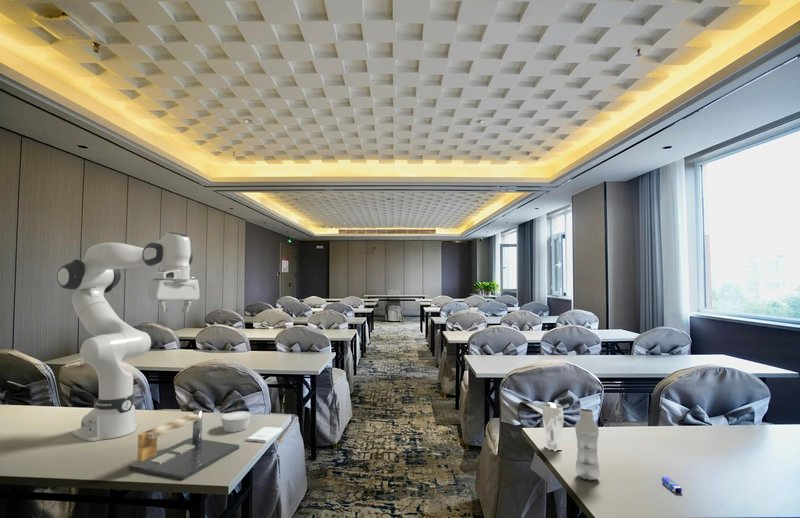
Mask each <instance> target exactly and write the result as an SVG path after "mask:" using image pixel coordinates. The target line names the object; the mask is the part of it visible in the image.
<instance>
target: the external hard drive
mask: <svg viewBox="0 0 800 518" xmlns="http://www.w3.org/2000/svg"><path fill="white" fill-rule="evenodd" d="M282 431H283V428H282V427H273V426H272V427H271V426H263V427H262V428H260V429H259V430H257V431H256V432H254V433H253V434H251V435H249V436H248V437H247V438H246V439H245V442H250V441H257V442H256V443H262V442H263V443H264V444H266V443H268V442H270V440H272V439H273V438H274V437H276V436H277V435H278V434H280V433H281V432H282ZM263 443H262V444H263Z"/></svg>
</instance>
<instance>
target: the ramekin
mask: <svg viewBox="0 0 800 518" xmlns="http://www.w3.org/2000/svg"><path fill="white" fill-rule="evenodd" d="M251 416H252V414H251V412H249V411H244V410H243V411H239V410H238V411H232V412H228V413H226V414H223V415H222V416H221V422H222V423H221V424H222V429H223V430H224V432H226V433H238V432H237V431H239V432H242V430H243V431H245V430H246V428H247V429H248V427H249V426H250V422H251ZM244 429H245V430H244Z"/></svg>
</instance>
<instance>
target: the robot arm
mask: <svg viewBox="0 0 800 518" xmlns="http://www.w3.org/2000/svg"><path fill="white" fill-rule="evenodd" d="M193 259H194V256H193V252H192V248H191V240H190V237H189V236H188V235H187V234H184V233H178V232H171V231H170V232H169V231H168V232H167V233H166V234H165V235H164V236H163V237H162V238H160V239H159V240H155V241H153V242H149V243H147V244H146V245H145V247H141V246H136V245H132V244H129V243H128V244H127V243H123V242H113V241H110V242H103V243H97V244H94V245H92V246H90V247H89V248H88V249H87V250H86V252H85V257H84V259H82V260H80V259H78V258H77V259H76V258H75V259H73V260H72V261H71V262H68V263H66V264H64V265H62V266H61V267H60V268H59V269H58V271H57V274H56V281H57V283H58V285H59V286H60V287H61V288H63V289H66V290H73V291H74V290H78V291H76V292H75V293H74V294H73V295H72V297H71V303H72V307H73V308H74V311H75V313H76V316H77V317H78V319H79V320H80V322H81V324H82V325H83V327H84V328H85V330H86V331H87V333H89V334H90V335H92V337H89V338H87V339H85V340H84V341H83V342H82V344H81V346H80V350H79V353H80V357H81V360H82V361H83V362H84V363H86V364H88V365H90V366H91V367H92V368H93V370H94V371H95V373H96V374H97V378H98V397H97V398H95V399H93V403H94V404H95V405H94V408H93V409H92V410H90V411H89V412H88V413H87V414H85V415H84V416H83V417H82V418H81V421H80V428H78V429H75V430H74V431H72V436H75V437H77V438H80V439H82V440H85V441H86V442H96V441H101V440H109V439H115V438H121V437H124V436H126V435H129V434H132V433H134V432H135V431H136V430H137V426H138V425H139V423H138V421H137V416H136V407H135V405H134V403H135V393H134V374H133V373H132V372H131V371H129V370H127V369H125V368H124V367H123V365H122V361H123V360H129V359H134V358H137V357H140V356H142V355H144V354H147V353H148V352H149V351H150V349H151V346H152V340H151V339H152V338H151V336H150V335H149V334H148V333H147V332H145V331H144V330H143V331H142V330H139V329H137V328H135V327H133V326H131V325H130V324H128V323H126V322H125V321H124V320H122V319H121V317H119V315H117V313H116V312H115V310H114V309H113V308H112V306H111V305H110V303H109V301H108V300H107V299H106V298H105V293H110V292H112V290H113V289H114V288H115V287H116V286H117V285H118V284H119V283H120V281H121V279H122V278H121V277H122V273H121V270H124V269H130V268H137V267H145V266H146V267H147V266H148V267H152V268H159V269H162V270H158V271H156V272H151V273H150V274H149V279H150V281H149V283H148V290H147V297H148V299H149V300H150V301H157V305H158V307H159V309H160V312H159V313H160V314H168V310H169V309H168V308H167V307H166V305H165V304H167V303H166V302H167V301H183V303H184V306H183V307H181V313H189V308H190V306H191V304H192V301H198V300H199V299H200V287H199V286H200V284H199V280H198V278H197V277H196V276H191V275H190V273H191V266H190V265H191V264H192V263H193Z"/></svg>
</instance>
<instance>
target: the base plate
mask: <svg viewBox="0 0 800 518" xmlns="http://www.w3.org/2000/svg"><path fill="white" fill-rule="evenodd" d="M192 414H196V415H200V419H199V420H197V421H195V422H192V437H189V438H186V439H183V440H182V441H180V442H178V443H176V444H174V445H171V446H169V447H167V448H164V449H162V450H160V451H157V454H156V455H155V456H153V457H151V458H149V459H146V460H144V461H136V462H134V463H132V464H129V466H128V470H131V471H135V472H140V473H146V474H149V473H151V474H150V475H154V476H160V477H166V478H171V479H175V480H180V481H185V480H186V479H188V478H190V477H191V476H193V475H195V474H197V473H198V472H200V471H202V470H203V469H205V468H207V467H210V466H211V465H213V464H215V463H217V462H218V461H220V460H221V459H223V458H225V457H227V456H229V455H230V454H232V453H234V452H236V451H237V450H239V449H240V444H234V443H227V442H223V441H221V442H220V441H215V440H209V439H202V437H203V436H202V435H203V410H202V409H196V410H193V411H192Z"/></svg>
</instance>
